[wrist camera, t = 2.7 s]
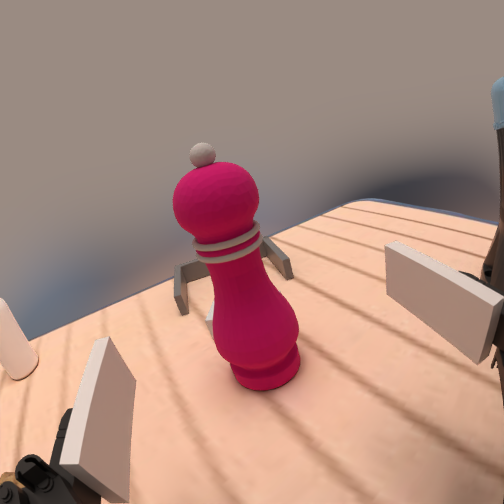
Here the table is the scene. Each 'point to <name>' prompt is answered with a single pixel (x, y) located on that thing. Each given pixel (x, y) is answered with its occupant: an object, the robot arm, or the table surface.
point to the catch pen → (200, 270)
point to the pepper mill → (237, 271)
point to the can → (14, 346)
